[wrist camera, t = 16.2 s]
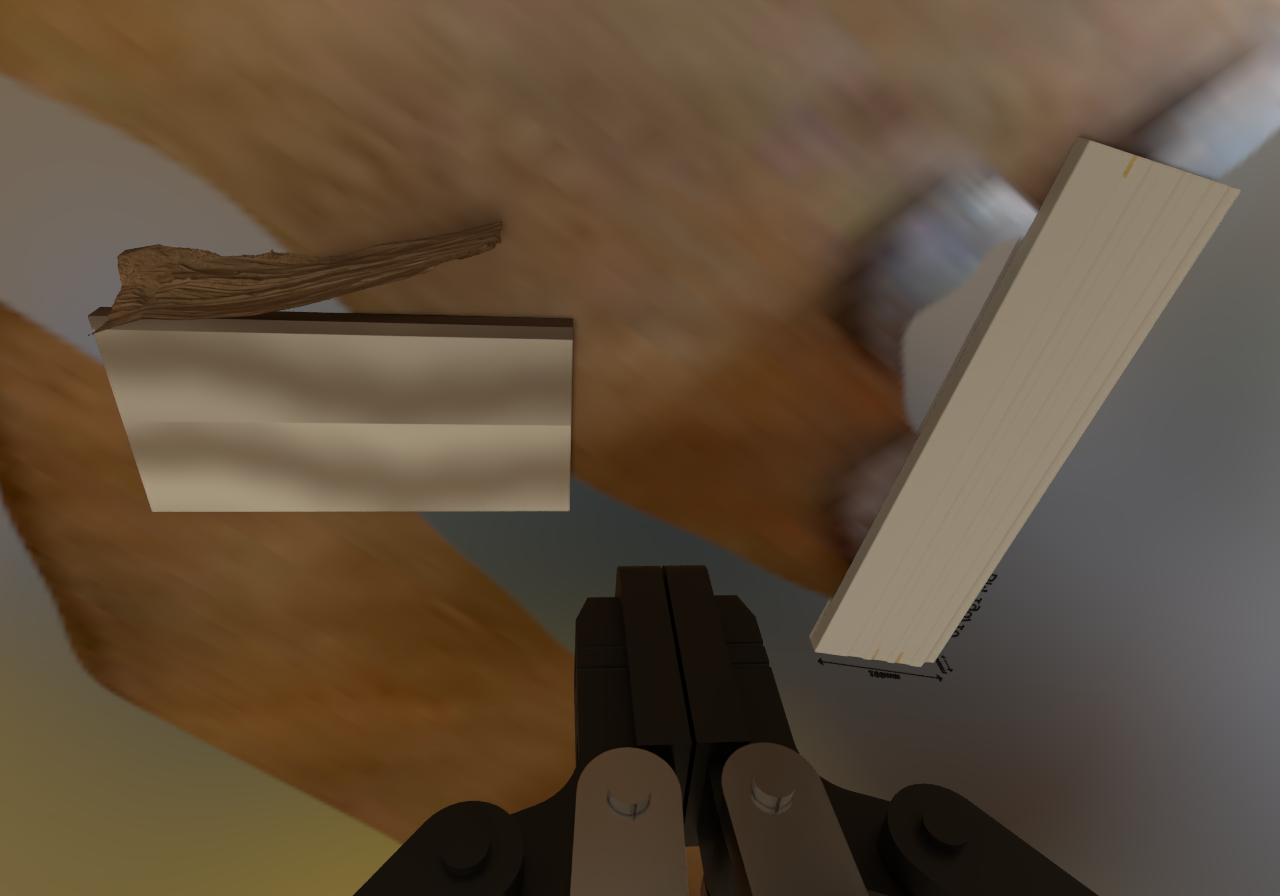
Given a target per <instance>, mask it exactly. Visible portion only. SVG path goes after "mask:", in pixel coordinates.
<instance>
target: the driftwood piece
mask: <svg viewBox="0 0 1280 896" xmlns="http://www.w3.org/2000/svg"><path fill="white" fill-rule="evenodd" d="M501 226H502V222H500V223H495V224H490V225H485V226H482V227H478V228H473V229H470V230H465V231H461V232H457V233H452V234H446V235H440V236H435V237H431V238H423V239H418V240H409V241H401V242H394V243H387V244H381V245H376V246H372V247H369V248H366V249H363V250H360V251H356V252H353V253H349V254H345V255H341V256H335V257H328V258H321V257H310V256H305V255H295V254H292V255H289V254H288V253H276V252H274V251H273V249H272V250H271V251H270V252H268V253H263V254H259V255H245V254H244V255H241V256H220V255H218V254H216V253H212V252H210V251H207V250H206V251H204V250H198V249H190V248H174V247H167V246H162V245H160V244H159V245H153V246H147V247H141V248H135V249H129V250H125V251H124V252H122V253H121V254H120V255H119V256H118V257H117V258H118V269H119V274H120V280H121V283H122V287H121V291H120V292H119V294H118V295H117V297H116V299H115V302H114V305H112V311H111V312H110V314H108V315H109V320H108V321H106V322H104V324H103V325H101V327H100V328H98V329H96V330H95V332H93V333H92V334H95V333H98V332H101V331H104V330H107V329H111V328H112V327H116V326H119V325H123V324H126V323H130V322H134V321H138V320H141V319H158V320H196V319H213V318H223V317H239V316H252V315H258V314H263V313H268V312H274V311H280V310H285V309H290V308H295V307H300V306H304V305H308V304H312V303H316V302H320V301H323V300H329V299H331V298H333V297H337V296H341V295H344V294H348V293H352V292H355V291H359V290H362V289H366V288H369V287H373V286H377V285H382V284H386V283H390V282H394V281H399V280H402V279H406V278H409V277H411V276H414V275H418V274H422V273H427V272H430V271H432V270H433V269H434V268H435V267H436V266H437V265H439V264H440V263H444V262H447V261H451V260H454V259H464V258H468V257H472V256H475V255H478V254H480V253H483V252H486V251H489V250H491V249H493V248H495V246H496V243H499V244H501V238H500V230H502V227H501ZM88 336H89V335H88Z"/></svg>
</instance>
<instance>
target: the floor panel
mask: <svg viewBox="0 0 1280 896" xmlns="http://www.w3.org/2000/svg"><path fill="white" fill-rule="evenodd" d="M111 311H112V307H100V308H98V309H97V310H95V311H94V312H92V313H91V314H90V315H88V318H89V321H90V324H91V327H92V330H93V332H95V330H96V329H98V328H100V327H101V325H103V324H104V322H106V321H108V320H109V315H108V314H110V312H111ZM94 335H95V339H96V342H97V345H98V348H99V351H100V354H101V357H102V360H103V363H104V366H105V369H106V372H107V375H108V378H109V381H110V384H111V388H112V391H113V394H114V397H115V400H116V403H117V406H118V409H119V412H120V415H121V418H122V421H123V424H124V427H125V430H126V433H127V436H128V439H129V442H130V445H131V448H132V451H133V454H134V457H135V460H136V464H137V467H138V470H139V473H140V476H141V479H142V482H143V485H144V488H145V491H146V494H147V497H148V500H149V503H150V506H151V509H152V512H257V511H569V506H570V504H569V503H570V502H569V501H570V453H571V399H572V345H573V319H555V318H516V317H476V316H437V315H397V314H358V313H318V312H279V311H274V312H268V313H263V314H258V315H252V316H239V317H223V318H213V319H196V320H158V319H141V320H138V321H134V322H130V323H126V324H123V325H119V326H116V327H112V328H111V329H107V330H104V331H101V332H98V333H95V334H94Z"/></svg>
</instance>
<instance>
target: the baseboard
mask: <svg viewBox="0 0 1280 896" xmlns="http://www.w3.org/2000/svg"><path fill="white" fill-rule="evenodd" d="M1240 191H1241V190H1239V189H1236V188H1233V187H1230V186H1228V185H1225V184H1222V183H1219V182H1216V181H1212V180H1209V179H1206V178H1203V177H1200V176H1197V175H1194V174H1191V173H1188V172H1185V171H1182V170H1179V169H1176V168H1173V167H1170V166H1167V165H1164V164H1161V163H1158V162H1155V161H1152V160H1149V159H1145V158H1142V157H1139V156H1136V155H1133V154H1130V153H1127V152H1124V151H1121V150H1118V149H1115V148H1112V147H1109V146H1106V145H1103V144H1100V143H1097V142H1094V141H1091V140H1088V139H1084V138H1081V137H1078V138H1077V140H1076V142H1075V144H1074V146H1073V147H1072V149H1071V151H1070V153H1069V155H1068V157H1067V159H1066V161H1065V162H1064V164H1063V166H1062V168H1061V170H1060V172H1059V174H1058V176H1057V178H1056V179H1055V181H1054V183H1053V185H1052V187H1051V189H1050V191H1049V193H1048V195H1047V196H1046V198H1045V200H1044V202H1043V204H1042V206H1041V208H1040V210H1039V211H1038V213H1037V215H1036V217H1035V219H1034V221H1033V223H1032V225H1031V227H1030V228H1029V230H1028V232H1027V234H1026V236H1025V238H1019V239H1018V240H1017V242H1016V244H1015V246H1014V248H1013V250H1012V252H1011V254H1010V256H1009V258H1008V259H1007V261H1006V263H1005V265H1004V267H1003V269H1002V271H1001V273H1000V275H999V277H998V278H997V280H996V282H995V284H994V286H993V288H992V290H991V292H990V294H989V296H988V298H987V300H986V301H985V303H984V305H983V307H982V309H981V311H980V313H979V315H978V317H977V319H976V320H975V322H974V324H973V326H972V328H971V330H970V332H969V334H968V336H967V337H966V339H965V341H964V343H963V345H962V347H961V349H960V351H959V353H958V354H957V356H956V358H955V361H954V362H953V364H952V366H951V368H950V370H949V372H948V373H947V376H946V377H945V379H944V381H943V383H942V385H941V387H940V389H939V391H938V393H937V394H936V397H935V398H934V400H933V402H932V404H931V406H930V408H929V410H928V411H927V413H926V415H925V417H924V419H923V421H922V423H921V425H920V427H919V429H918V430H917V433H918V434H919V435H920V436H919V438H918V439H917V441H916V443H915V445H914V447H913V449H912V451H911V453H910V455H909V456H908V458H907V460H906V462H905V464H904V466H903V468H902V470H901V471H900V473H899V475H898V477H897V479H896V481H895V483H894V485H893V487H892V488H891V490H890V492H889V494H888V496H887V498H886V500H885V502H884V503H883V505H882V507H881V509H880V511H879V513H878V515H877V517H876V519H875V520H874V522H873V524H872V526H871V528H870V530H869V532H868V534H867V536H866V537H865V539H864V541H863V543H862V545H861V547H860V549H859V551H858V552H857V554H856V556H855V558H854V560H853V562H852V564H851V566H850V568H849V569H848V571H847V573H846V575H845V577H844V579H843V581H842V583H841V585H840V586H839V588H838V590H837V592H836V594H835V596H834V598H833V600H832V599H829V600H828V601H827V604H826V605H825V607H824V609H823V611H822V613H821V615H820V617H819V619H818V621H817V622H816V624H815V626H814V628H813V630H812V632H811V634H810V636H809V638H810V640H811V643H812V646H813V648H814V651H815V652H820V653H827V654H834V655H841V656H855V657H861V658H863V659H868V660H871V659H875V660H882V661H887V662H889V663H895V662H896V663H903V664H908V665H910V666H917V667H921V666H922V665H923V663H924V662H934V661H935V660H937V661H936V662H937V664H938V666H939V668H940V670H941V671H942V673H945V674H946V673H947V672H943V671H945V670H942V669H944V668H943V666H942V664H941V663H940V661H939V658H938V655H939V654H940V652H941V651H942V649H943V648H944V646H945V644H946V643H947V642H948V640H949V638H950V637H957V636H959V634H960V633H959V632H958V631H956V630H955V629H956V628H961V629H960V630H962V629H963V628H964V625H963V626H958V625H959V623H960V622H963V621H971V619H969V618H970V617H971V616H972V612H970V611H978V610H979V609H980V607H981V606H978V608H977V606H976V605H975V604H972V603H973V602H974V601H976V602H978V604H980V602H981V600H982V598H980V600H978V599H976V597H977V595H978V594H979V592H980V591H982V592H987V590H983V588H986V586H985V584H988V585H992V583H989V582H993V581H994V580H995V579H996V578H997V575H996V574H992V572H993V571H994V569H995V568H996V566H997V565H998V563H999V561H1000V560H1001V559H1002V557H1003V555H1004V554H1005V552H1006V551H1007V549H1008V548H1009V546H1010V544H1011V543H1012V542H1013V540H1014V539H1015V537H1016V536H1017V534H1018V532H1019V531H1020V529H1021V528H1022V526H1023V524H1024V523H1025V522H1026V520H1027V519H1028V517H1029V516H1030V514H1031V512H1032V511H1033V509H1034V507H1035V506H1036V505H1037V503H1038V502H1039V500H1040V499H1041V497H1042V496H1043V494H1044V493H1045V491H1046V489H1047V488H1048V486H1049V485H1050V483H1051V482H1052V480H1053V479H1054V477H1055V475H1056V474H1057V473H1058V471H1059V469H1060V468H1061V466H1062V465H1063V463H1064V462H1065V460H1066V459H1067V457H1068V456H1069V454H1070V453H1071V451H1072V449H1073V448H1074V446H1075V445H1076V443H1077V442H1078V440H1079V439H1080V437H1081V436H1082V434H1083V433H1084V431H1085V430H1086V428H1087V426H1088V425H1089V423H1090V422H1091V420H1092V419H1093V417H1094V416H1095V414H1096V413H1097V411H1098V409H1099V408H1100V406H1101V405H1102V403H1103V402H1104V400H1105V399H1106V397H1107V396H1108V394H1109V393H1110V391H1111V390H1112V388H1113V387H1114V385H1115V383H1116V382H1117V380H1118V379H1119V377H1120V376H1121V374H1122V373H1123V371H1124V370H1125V368H1126V366H1127V365H1128V363H1129V362H1130V360H1131V359H1132V357H1133V356H1134V354H1135V353H1136V351H1137V350H1138V348H1139V347H1140V345H1141V343H1142V342H1143V340H1144V339H1145V337H1146V336H1147V334H1148V333H1149V331H1150V330H1151V328H1152V327H1153V325H1154V323H1155V322H1156V320H1157V319H1158V317H1159V316H1160V314H1161V313H1162V311H1163V310H1164V308H1165V306H1166V305H1167V304H1168V302H1169V300H1170V299H1171V297H1172V296H1173V294H1174V293H1175V291H1176V290H1177V288H1178V287H1179V285H1180V284H1181V282H1182V280H1183V279H1184V277H1185V276H1186V274H1187V273H1188V271H1189V270H1190V268H1191V267H1192V265H1193V264H1194V262H1195V260H1196V259H1197V257H1198V256H1199V254H1200V253H1201V251H1202V250H1203V248H1204V247H1205V245H1206V243H1207V242H1208V240H1209V239H1210V237H1211V236H1212V234H1213V233H1214V231H1215V230H1216V228H1217V227H1218V225H1219V224H1220V222H1221V221H1222V219H1223V218H1224V216H1225V214H1226V213H1227V211H1228V210H1229V208H1230V207H1231V205H1232V203H1233V202H1234V201H1235V199H1236V198H1237V196H1238V194H1239V193H1240ZM991 576H994V578H993V579H992V580H990V577H991ZM987 580H988V581H989V582H987ZM970 606H975V607H974V608H973V609H970ZM976 608H977V609H976ZM968 610H969V611H968ZM966 613H969V614H970V615H969V616H964V615H965V614H966ZM962 618H968V619H963V620H962ZM953 632H955V633H957V635H952V634H953ZM941 657H942V658H943V659H944V658H946V657H945V656H943V655H942V656H941ZM936 658H937V659H936ZM944 660H945V659H944ZM818 662H819V663H820V664H822V665H823V662H824V663H831V664H838V665H845V666H852V667H859V666H853V665H846V664H839V663H832V662H825V661H822V660H821V658H820V659H819V660H818ZM938 662H939V663H938ZM945 662H946V660H945ZM946 664H947V663H946ZM947 666H948V664H947ZM948 667H949V666H948ZM859 668H866V667H859ZM867 669H873V668H867ZM874 670H881V669H874ZM948 670H949V671H951V672H952V669H950V668H949V669H948ZM881 671H888V670H881ZM868 672H870V676H872V677H873V676H874V675H875V677H877V678H879V677H881V678H885V677H887V678H892V677H893V678H894V679H900V676H899V675H896V674H895V676H894V674H891V673H890V674H889V673H887V674H886V673H883V672H880V673H878V672H877V671H874V675H873V671H870V670H869V671H868ZM888 672H895V671H888ZM895 673H902V672H895ZM902 674H909V673H902ZM909 675H915V674H909ZM897 676H898V677H897ZM916 676H923V675H916ZM923 677H930V676H923ZM930 678H937V679H939V681H940V682H941V680H942V678H941V677H940V676H938V675H937V677H930Z"/></svg>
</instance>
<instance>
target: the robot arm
mask: <svg viewBox="0 0 1280 896" xmlns="http://www.w3.org/2000/svg"><path fill="white" fill-rule="evenodd" d="M575 631H576V632H575V666H574V705H575V753H576V768H575V770H574V773H573V775H572V776H571V778H570V779H569V781H568V782H567V783H566V785H565V786H564V787H563V788H562V789H561V790H560V791H559V792H557V793H556V794H555V795H554V796H552V797H551V798H549V799H548V800H546V801H544V802H542V803H539V804H537V805H535V806H532V807H529V808H527V809H524V810H521V811H519V812H516V813H513V814H511V815H510V814H508V813H507V812H506V811H505V810H503V809H502V808H500V807H498V806H496V805H493V804H491V803H487V802H482V801H466V802H460V803H456V804H453V805H450V806H448V807H446V808H444V809H442V810H440V811H438V812H437V813H435V814H434V815H432V816H431V817H430V818H429V819H428V820H427V821H426V822H425V823H424V824H423V825H422V826H421V827H420V828H419V829H418V830H417V831H416V832H415V833H414V834H413V835H412V836H411V837H410V838H409V839H408V840H407V841H406V842H405V843H404V844H403V845H402V846H401V847H400V848H399V849H398V850H397V851H396V852H395V853H394V854H393V855H392V856H391V857H390V858H389V859H388V860H387V862H385V863H384V864H383V866H382V867H381V868H380V869H379V870H378V871H377V872H376V873H375V874H374V875H373V876H372V877H371V878H370V879H369V880H368V881H367V882H366V883H365V884H364V885H363V886H362V887H361V888H360V889H359V890H358V891H357V892H356V893H355V894H354V895H353V896H688V882H687V867H686V852H685V847H688V846H699V847H700V853H701V860H702V866H703V872H704V873H703V879H702V884H701V891H700V896H1098V895H1096V894H1095V893H1094V892H1093V891H1091V890H1090V889H1089V888H1087V887H1086V886H1084V885H1083V884H1082V883H1080V882H1079V881H1078V880H1076V879H1075V878H1074V877H1072V876H1071V875H1069V874H1068V873H1067V872H1065V871H1064V870H1063V869H1061V868H1060V867H1058V866H1057V865H1056V864H1054V863H1053V862H1052V861H1050V860H1049V859H1048V858H1046V857H1045V856H1044V855H1042V854H1041V853H1040V852H1038V851H1037V850H1035V849H1034V848H1033V847H1031V846H1030V845H1029V844H1027V843H1026V842H1024V841H1023V840H1022V839H1020V838H1019V837H1018V836H1016V835H1015V834H1014V833H1012V832H1011V831H1010V830H1008V829H1007V828H1005V827H1004V826H1003V825H1001V824H1000V823H999V822H997V821H996V820H995V819H993V818H992V817H990V816H989V815H988V814H986V813H985V812H984V811H982V810H981V809H979V808H978V807H977V806H975V805H974V804H973V803H971V802H970V801H969V800H967V799H966V798H964V797H963V796H961V795H959V794H958V793H956V792H953V791H952V790H950V789H947V788H944V787H941V786H937V785H933V784H914V785H911V786H907V787H905V788H903V789H902V790H900V791H899V792H898V793H897V794H895V796H894V797H893V799H892V800H891V802H890V801H886V800H883V799H879V798H875V797H872V796H868V795H864V794H860V793H856V792H853V791H849V790H846V789H843V788H840V787H838V786H836V785H834V784H832V783H830V782H828V781H827V780H825V779H823V778H822V777H820V776H819V775H818V773H817V772H816V770H815V769H814V767H813V766H812V765H811V764H810V763H809V762H808V761H807V760H806V759H805V758H804V757H802V756H801V755H800V754H799V752H798V750H797V748H796V746H795V743H794V740H793V737H792V734H791V731H790V727H789V724H788V721H787V718H786V714H785V712H784V708H783V705H782V702H781V698H780V695H779V692H778V688H777V685H776V682H775V679H774V675H773V672H772V669H771V667H769V659H768V656H767V653H766V650H765V647H764V646H763V640H762V637H761V633H760V630H759V627H758V624H757V620H756V617H755V616H754V615H753V613H752V612H751V611H750V610H749V609H748V608H747V607H746V605H745V604H744V603H743V602H742V601H741V600H740V599H739V597H738V596H737V595H723V596H721V595H720V596H714V594H713V591H712V586H711V583H710V578H709V575H708V571H707V568H706V566H705V565H686V566H683V565H682V566H681V565H680V566H662V569H661V567H660V566H619V567H618V568H617V575H616V592H615V597H594V598H587V600H586V602H585V604H584V606H583V607H582V609H581V611H580V613H579V615H578V617H577V619H576V630H575Z"/></svg>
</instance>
